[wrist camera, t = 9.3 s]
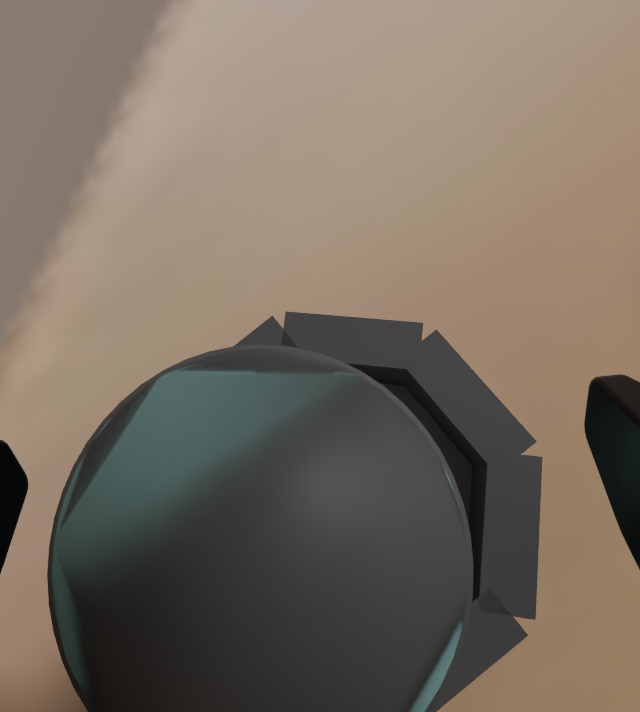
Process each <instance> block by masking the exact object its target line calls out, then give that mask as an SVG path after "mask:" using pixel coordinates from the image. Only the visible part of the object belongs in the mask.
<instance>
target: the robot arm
mask: <svg viewBox="0 0 640 712" xmlns="http://www.w3.org/2000/svg"><path fill="white" fill-rule="evenodd" d="M584 425H585V434H586V438H587V441H588V444H589V446H590V449H591V452H592V455H593V457H594V460H595V463H596V466H597V468H598V471H599V474H600V476H601V479H602V482H603V485H604V487H605V490H606V493H607V496H608V498H609V501H610V504H611V506H612V509H613V512H614V515H615V517H616V520H617V522H618V525H619V527H620V530H621V532H622V534H623V537H624V539H625V541H626V543H627V545H628V547H629V549H630V551H631V553H632V555H633V557H634V559H635V561H636V563H637V565H638V567H639V569H640V382H638V381H636V380H634V379H632V378H630V377H628V376H625V375H610V376H601V377H595V378H594V379H593V380H592V381H591V383H590V385H589V391H588V399H587V407H586V414H585V423H584ZM27 490H28V479H27V476H26V474H25V472H24V470H23V469H22V467H21V465H20V464H19V462H18V460H17V459H16V457H15V455H14V454H13V452H12V450H11V449H10V447H9V445H8V444H7V443H6V442H4V441H3V440H0V573H1V570H2V567H3V565H4V562H5V558H6V555H7V552H8V549H9V546H10V543H11V540H12V537H13V534H14V531H15V528H16V525H17V522H18V519H19V516H20V512H21V509H22V506H23V503H24V500H25V497H26V494H27Z"/></svg>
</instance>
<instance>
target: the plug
mask: <svg viewBox="0 0 640 712" xmlns="http://www.w3.org/2000/svg"><path fill="white" fill-rule="evenodd" d="M473 570H474V565H473V554H472V544H471V534H470V530H469V525H468V521H467V516H466V512H465V507H464V504H463V501H462V498H461V495H460V492H459V490H458V487H457V484H456V481H455V479H454V476H453V474H452V472H451V470H450V468H449V466H448V464H447V462H446V460H445V458H444V456H443V454H442V452H441V450H440V449H439V447H438V446H437V444H436V443H435V441H434V440H433V439H432V437H431V436H430V434H429V433H428V431H427V430H426V428H425V427H424V425H423V424H422V423H421V422H420V421H419V420H418V419H417V418H416V416H415V415H414V414H413V413H412V412H411V411H410V410H409V409H408V407H407V406H406V405H405V404H404V403H403V402H402V401H400V400H399V399H398V398H397V397H396V396H395V395H393V394H392V393H391V392H390V391H389V390H388V389H387V388H385V387H384V386H383V385H381V384H380V383H378V382H377V381H375V380H374V379H372V378H371V377H369V376H368V375H366V374H365V373H363V372H362V371H360V370H358V369H356V368H354V367H352V366H350V365H348V364H346V363H344V362H342V361H340V360H337V359H335V358H332V357H329V356H326V355H323V354H320V353H317V352H314V351H310V350H305V349H300V348H294V347H289V346H279V345H262V344H260V345H245V346H234V347H229V348H224V349H219V350H214V351H210V352H207V353H204V354H201V355H198V356H195V357H192V358H189V359H186V360H184V361H182V362H180V363H178V364H176V365H174V366H172V367H170V368H167V369H165V370H163V371H162V372H160V373H159V374H157V375H156V376H154V377H152V378H151V379H149V380H148V381H146V382H145V383H143V384H142V385H140V386H139V387H138V388H137V389H136V390H134V391H133V392H132V393H131V394H130V395H128V396H127V397H126V398H125V399H124V400H122V401H121V402H120V403H119V404H118V405H117V407H116V408H115V409H114V410H113V411H112V412H111V413H110V414H109V415H108V416H107V417H106V418H105V419H104V420H103V422H102V423H101V424H100V426H99V427H98V428H97V430H96V431H95V432H94V434H93V435H92V436H91V438H90V439H89V440H88V442H87V443H86V445H85V447H84V449H83V450H82V452H81V454H80V455H79V457H78V459H77V461H76V462H75V464H74V466H73V468H72V470H71V473H70V475H69V477H68V480H67V482H66V484H65V487H64V489H63V491H62V495H61V498H60V501H59V505H58V508H57V511H56V514H55V518H54V523H53V529H52V534H51V540H50V545H49V559H48V574H47V576H48V596H49V607H50V613H51V619H52V625H53V631H54V635H55V638H56V642H57V645H58V649H59V652H60V655H61V659H62V662H63V664H64V666H65V669H66V671H67V673H68V675H69V678H70V680H71V682H72V685H73V687H74V689H75V691H76V692H77V694H78V696H79V697H80V699H81V701H82V702H83V704H84V706H85V707H86V709H87V711H88V712H431V711H432V710H433V708H434V707H435V705H436V704H437V702H438V700H439V699H440V697H441V696H442V694H443V692H444V691H445V689H446V687H447V684H448V682H449V680H450V678H451V675H452V673H453V671H454V669H455V667H456V664H457V662H458V660H459V656H460V653H461V650H462V646H463V643H464V640H465V636H466V633H467V629H468V623H469V617H470V611H471V605H472V599H473Z"/></svg>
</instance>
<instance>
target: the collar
mask: <svg viewBox="0 0 640 712" xmlns="http://www.w3.org/2000/svg"><path fill="white" fill-rule="evenodd" d="M422 329H423V323H417V322H405V321H393V320H381V319H369V318H357V317H344V316H332V315H320V314H308V313H296V312H286V314H285V321H284V328H282V327H281V326H280V325H279V323H278V322H277V321H276V320H275V318H274V317H273V316H271V317H270V318H269V319H268V320H266V321H265V322H264V323H263V324H261V325H260V326H259V327H258V328H256V329H255V330H254V331H252V332H251V333H250V334H249V335H247V336H246V337H245V338H244V339H242V340H241V341H240V342H239V343H237V344H236V345H235V346H245V345H260V344H262V345H279V346H289V347H294V348H300V349H305V350H310V351H314V352H317V353H320V354H323V355H326V356H329V357H332V358H335V359H337V360H340V361H342V362H344V363H346V364H348V365H350V366H352V367H354V368H356V369H358V370H360V371H362V372H363V373H365V374H366V375H368V376H369V377H371V378H372V379H374V380H375V381H377V382H378V383H380V384H381V385H383V386H384V387H385V388H387V389H388V390H389V391H390V392H391V393H392V394H393V395H395V396H396V397H397V398H398V399H399V400H400V401H402V402H403V403H404V404H405V405H406V406H407V407H408V409H409V410H410V411H411V412H412V413H413V414H414V415H415V416H416V418H417V419H418V420H419V421H420V422H421V423H422V424H423V425H424V427H425V428H426V430H427V431H428V433H429V434H430V436H431V437H432V439H433V440H434V441H435V443H436V444H437V446H438V447H439V449H440V450H441V452H442V454H443V456H444V458H445V460H446V462H447V464H448V466H449V468H450V470H451V472H452V474H453V476H454V479H455V481H456V484H457V487H458V490H459V492H460V495H461V498H462V501H463V504H464V507H465V512H466V516H467V521H468V525H469V530H470V534H471V544H472V554H473V565H474V570H473V599H472V605H471V611H470V617H469V623H468V629H467V633H466V636H465V640H464V643H463V646H462V650H461V653H460V656H459V660H458V662H457V664H456V667H455V669H454V671H453V673H452V675H451V678H450V680H449V682H448V684H447V687H446V689H445V691H444V692H443V694H442V696H441V697H440V699H439V700H438V702H437V704H436V705H435V707H434V708H433V710H432V711H431V712H436V711H437V710H439V709H440V708H441V707H442V706H443V705H445V704H446V703H447V702H448V701H449V700H451V699H452V698H453V697H454V696H455V695H457V694H458V693H459V692H460V691H462V690H463V689H464V688H465V687H466V686H468V685H469V684H470V683H471V682H472V681H474V680H475V679H476V678H477V677H478V676H480V675H481V674H482V673H483V672H484V671H486V670H487V669H488V668H489V667H490V666H492V665H493V664H494V663H495V662H497V661H498V660H499V659H500V658H501V657H503V656H504V655H505V654H506V653H507V652H509V651H510V650H511V649H512V648H513V647H515V646H516V645H517V644H518V643H519V642H521V641H522V640H523V639H524V638H525V637H527V636H528V635H527V634H526V632H525V631H524V630H523V629H522V627H521V626H520V625H519V624H518V622H517V621H516V620H515V619H514V617H513V616H515V617H521V618H527V619H533V620H535V617H536V593H537V569H538V545H539V521H540V497H541V473H542V457H537V456H528V455H523V452H525V451H526V450H527V449H528V448H529V447H531V446H532V445H533V444H534V443H536V441H535V439H534V438H533V437H532V436H531V435H530V434H529V433H528V432H527V430H526V429H525V428H524V427H523V426H522V425H521V424H520V423H519V421H518V420H517V419H516V418H515V417H514V416H513V415H512V414H511V413H510V411H509V410H508V409H507V408H506V407H505V406H504V405H503V404H502V402H501V401H500V400H499V399H498V398H497V397H496V396H495V395H494V393H493V392H492V391H491V390H490V389H489V388H488V387H487V386H486V385H485V383H484V382H483V381H482V380H481V379H480V378H479V377H478V376H477V374H476V373H475V372H474V371H473V370H472V369H471V368H470V367H469V365H468V364H467V363H466V362H465V361H464V360H463V359H462V358H461V357H460V355H459V354H458V353H457V352H456V351H455V350H454V349H453V348H452V346H451V345H450V344H449V343H448V342H447V341H446V340H445V339H444V337H443V336H442V335H441V334H440V333H439V332H438V331H437V330H435V331H434V332H433V333H431V334H430V335H429V336H428V337H426V338H425V339H424V340H423V341H422ZM233 347H234V346H233Z"/></svg>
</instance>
